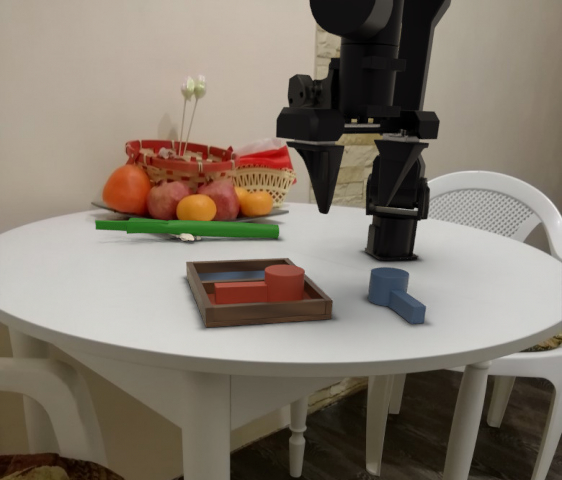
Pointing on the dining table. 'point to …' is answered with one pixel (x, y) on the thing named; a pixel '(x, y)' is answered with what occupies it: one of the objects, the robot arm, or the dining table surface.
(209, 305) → the sorting tray
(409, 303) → the blue cylinder with handle
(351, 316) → the dining table surface
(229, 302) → the red cylinder-ended block
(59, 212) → the dining table surface
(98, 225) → the green stepped bar
